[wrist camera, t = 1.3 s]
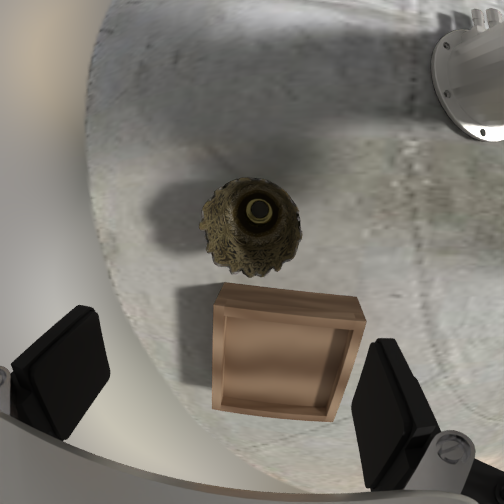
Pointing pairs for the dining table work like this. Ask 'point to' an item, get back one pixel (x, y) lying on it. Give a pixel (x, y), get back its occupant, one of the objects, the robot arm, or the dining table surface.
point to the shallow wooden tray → (283, 351)
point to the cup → (251, 227)
